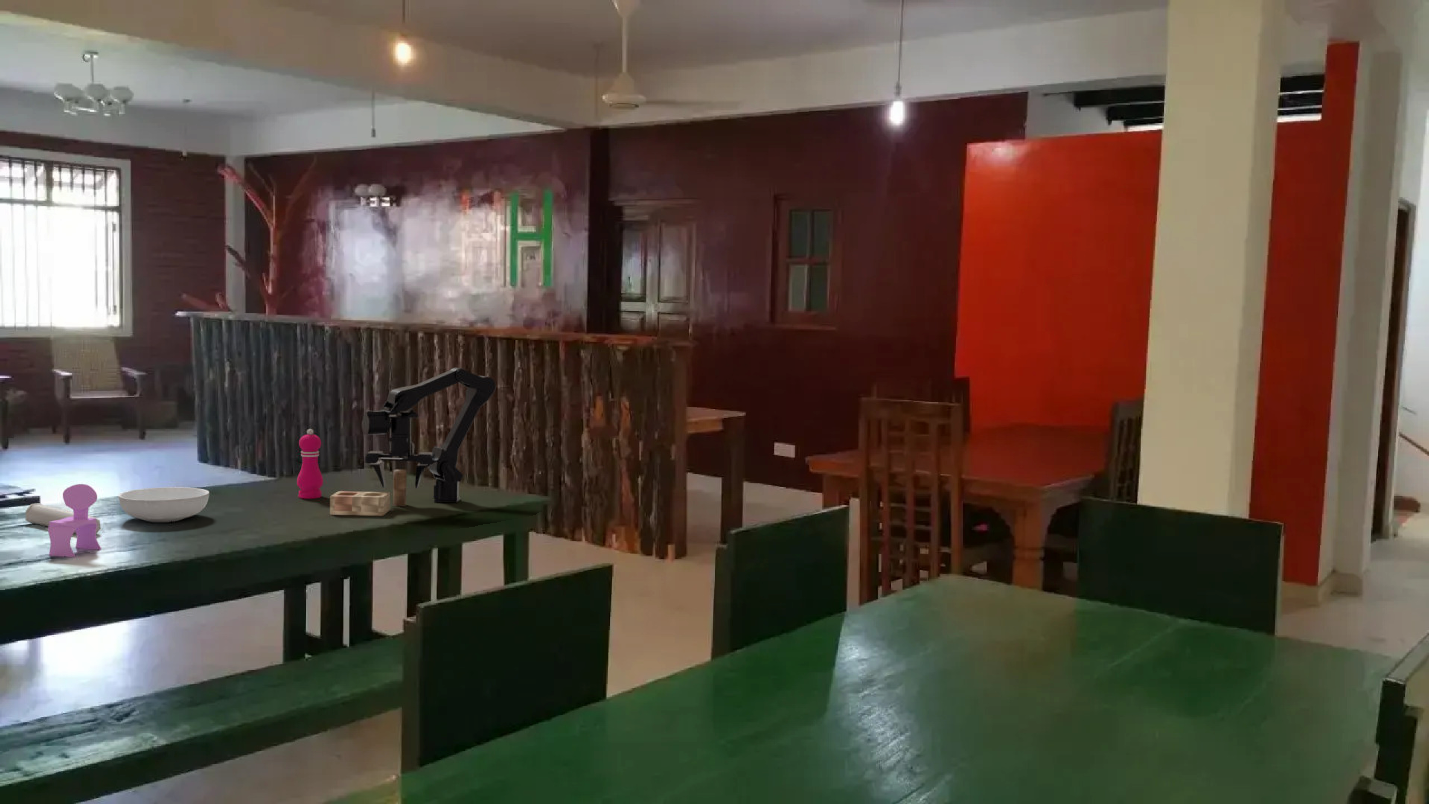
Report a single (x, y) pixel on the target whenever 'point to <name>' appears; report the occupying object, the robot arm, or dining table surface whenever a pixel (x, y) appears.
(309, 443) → the pepper mill
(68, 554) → the toy chair
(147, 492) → the serving bowl
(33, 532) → the dining table surface
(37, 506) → the tube
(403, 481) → the dowel
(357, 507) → the bore block
